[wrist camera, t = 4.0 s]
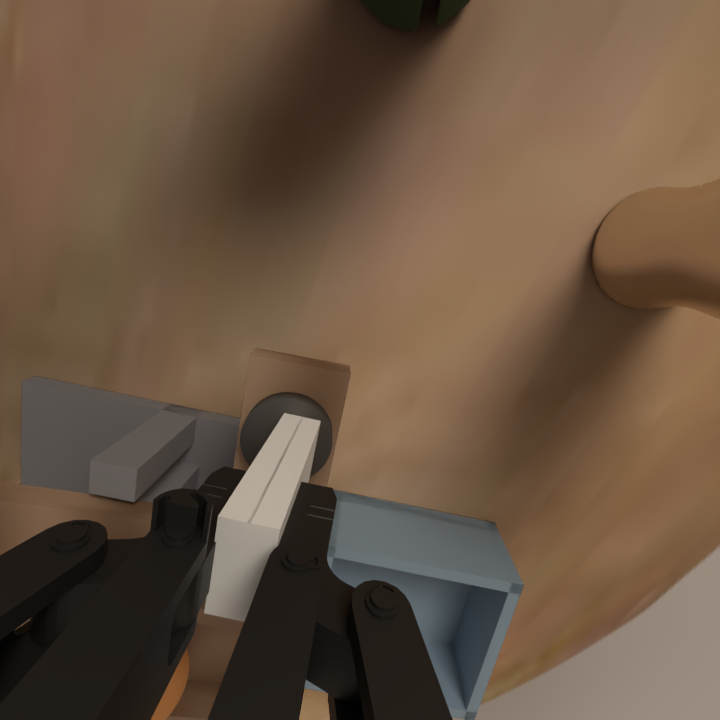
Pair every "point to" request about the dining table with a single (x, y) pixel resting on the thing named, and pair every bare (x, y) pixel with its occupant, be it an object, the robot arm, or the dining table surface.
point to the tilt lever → (258, 419)
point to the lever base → (118, 442)
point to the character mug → (411, 11)
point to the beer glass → (662, 249)
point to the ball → (173, 689)
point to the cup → (434, 584)
